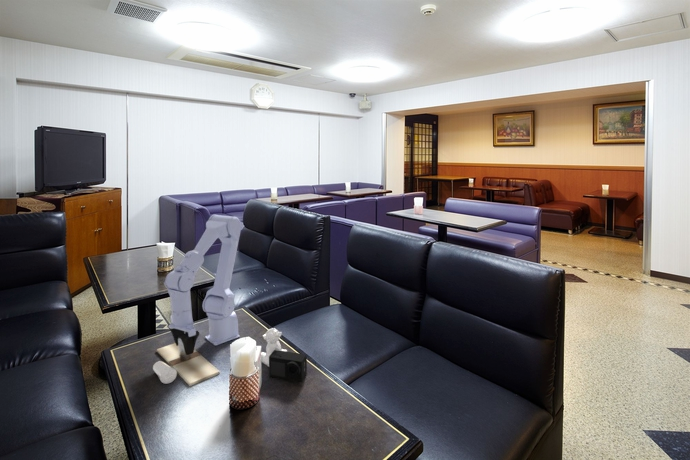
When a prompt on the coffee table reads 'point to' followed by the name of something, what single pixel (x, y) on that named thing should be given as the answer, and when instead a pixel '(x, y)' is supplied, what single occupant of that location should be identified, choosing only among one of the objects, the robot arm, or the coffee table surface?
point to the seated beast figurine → (271, 344)
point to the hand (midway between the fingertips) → (184, 349)
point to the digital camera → (288, 366)
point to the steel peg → (182, 351)
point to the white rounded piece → (165, 372)
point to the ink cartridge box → (258, 363)
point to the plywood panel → (188, 365)
